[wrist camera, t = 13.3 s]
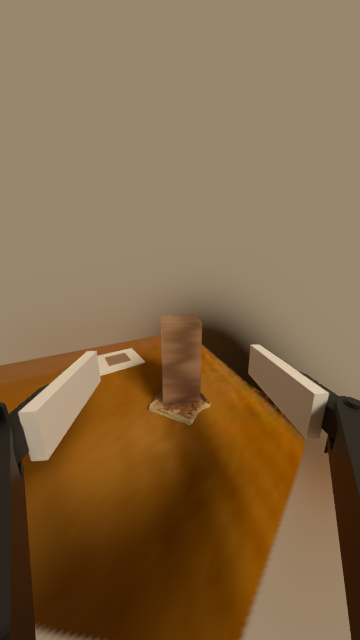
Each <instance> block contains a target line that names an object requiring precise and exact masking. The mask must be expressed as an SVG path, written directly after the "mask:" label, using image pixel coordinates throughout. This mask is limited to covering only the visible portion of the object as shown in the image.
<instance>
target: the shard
mask: <svg viewBox="0 0 360 640" xmlns="http://www.w3.org/2000/svg"><path fill="white" fill-rule="evenodd" d="M208 407H210V403H209V402H208V401H207V399H206V398H205V396H204V395H203V394H202V393H200V401H192V402H180V403H167V404H163V388H162V389H161V391H160V392H159V393H158V394H157V395H156V397H155V399H154V400H153V401H152V402H151V404H150V406H149V411H151V412H154V413H158V414H160V415H163V416H166V417H168V418H171V419H174V420H176V421H179V422H182V423H185V424H187V425H189V426H190V425H191V424H192V423H193V422H194V420H195V418H196V416H197V414H198V413H199V412H200V411H201V410H203V409H205V408H208Z"/></svg>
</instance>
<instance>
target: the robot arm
mask: <svg viewBox="0 0 360 640" xmlns="http://www.w3.org/2000/svg"><path fill="white" fill-rule="evenodd" d="M248 373H249V375H250V376H251V377H252V378H253V379H254V380H255V382H256V383H257V384H258V385H259V386H260V387H261V388H262V389H263V391H264V392H265V393H266V394H267V395H268V396H269V397H270V399H271V400H272V401H273V402H274V403H275V404H276V405H277V407H278V408H279V409H280V410H281V411H282V412H283V413H284V415H285V416H286V417H287V418H288V419H289V420H290V421H291V423H292V424H293V425H294V426H295V427H296V428H297V429H298V431H299V432H300V433H301V434H302V435H303V436H304V437H305V439H315V438H320V433H321V429H323V430H324V431H325V432H326V433H327V434H328V438H327V442H326V446H325V451H324V452H325V453H327V452H328V454H329V462H330V470H331V478H332V486H333V494H334V502H335V510H336V518H337V526H338V535H339V543H340V550H341V558H342V566H343V574H344V582H345V590H346V599H347V606H348V615H349V623H350V631H351V640H360V401H359V400H356V399H354V398H351V397H346V396H338V395H336V394H335V393H333V392H332V391H330V390H329V389H327V388H326V387H324V386H323V385H321V384H319V383H318V382H317V381H315V380H313V379H312V378H311V377H309V376H308V375H306V374H304V373H302V372H299V371H296V370H295V369H294V368H292V367H291V366H289V365H288V364H286V363H285V362H284V361H282V360H281V359H279V358H278V357H276V356H275V355H273V354H272V353H271V352H269V351H268V350H266V349H265V348H263V347H262V346H260V345H251V348H250V360H249V371H248ZM100 381H101V380H100V372H99V364H98V357H97V351H87V352H86V353H85V354H84V355H83V356H81V357H80V358H79V359H78V360H77V361H76V362H75V363H73V364H72V365H71V366H70V367H69V368H68V369H67V370H66V371H64V372H63V373H62V374H61V375H60V376H59V377H58V378H56V379H55V380H54V381H53V382H52V383H51V384H47V385H45V386H44V387H42V388H40V389H38V390H37V391H36V392H35V393H33V394H32V395H31V397H29V398H27V399H26V400H25V402H23V403H21V404H20V405H19V406H18V407H17V408H16V409H14V410H13V411H12V412H11V413H10V414H8V411H7V408H6V405H5V403H0V640H36V638H35V624H34V610H33V596H32V583H31V569H30V555H29V541H28V527H27V513H26V499H25V485H24V471H23V464H22V459H23V458H24V456H25V455H26V454H27V453H28V452H29V456H30V459H31V461H43V460H48V459H49V458H50V456H51V455H52V453H53V452H54V450H55V449H56V447H57V446H58V444H59V443H60V441H61V440H62V438H63V437H64V435H65V434H66V432H67V431H68V429H69V428H70V426H71V425H72V423H73V422H74V420H75V419H76V417H77V416H78V414H79V413H80V411H81V410H82V408H83V407H84V405H85V404H86V402H87V401H88V399H89V398H90V396H91V395H92V393H93V392H94V390H95V389H96V387H97V386H98V384H99V383H100Z"/></svg>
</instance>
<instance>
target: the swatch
mask: <svg viewBox="0 0 360 640" xmlns="http://www.w3.org/2000/svg"><path fill="white" fill-rule="evenodd" d="M97 357H98V364H99V372H100V376H102V375H105V374H109V373H112V372H116V371H119V370H123V369H126V368H130V367H133V366H136V365H140V364H143V363H145V361H144V360H143V359H142V358H141V357H140V356H139V355H138V354H137V353H136V352H135V351H134V350H133V349H132V348H130V349H126V350H121V351H117V352H112V353H108V354H104V355H99V356H97Z"/></svg>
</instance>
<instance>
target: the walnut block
mask: <svg viewBox="0 0 360 640" xmlns="http://www.w3.org/2000/svg"><path fill="white" fill-rule="evenodd" d="M201 341H202V322H201V321H200V320H199V319H198V318H197V317H196V316H195V315H164V316H161V346H162V382H163V404H167V403H180V402H192V401H200V381H201Z"/></svg>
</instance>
